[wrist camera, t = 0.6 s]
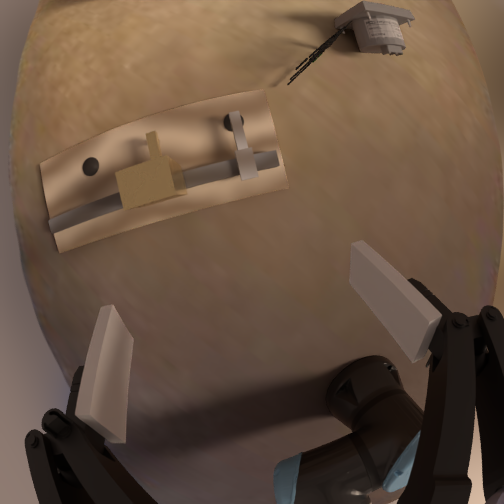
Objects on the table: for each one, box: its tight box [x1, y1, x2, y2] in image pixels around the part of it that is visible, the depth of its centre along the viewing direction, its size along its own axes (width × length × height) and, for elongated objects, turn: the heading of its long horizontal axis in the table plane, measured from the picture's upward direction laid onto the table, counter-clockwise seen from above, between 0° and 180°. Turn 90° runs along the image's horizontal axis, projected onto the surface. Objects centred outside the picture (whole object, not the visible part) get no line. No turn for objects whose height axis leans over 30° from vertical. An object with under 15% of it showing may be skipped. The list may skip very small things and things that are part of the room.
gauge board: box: [40, 89, 289, 254], centre depth 31 cm, size 14×34×4 cm, turn 103°
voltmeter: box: [287, 1, 415, 85], centre depth 28 cm, size 27×11×10 cm, turn 140°
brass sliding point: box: [115, 131, 188, 211], centre depth 27 cm, size 8×5×11 cm, turn 13°
